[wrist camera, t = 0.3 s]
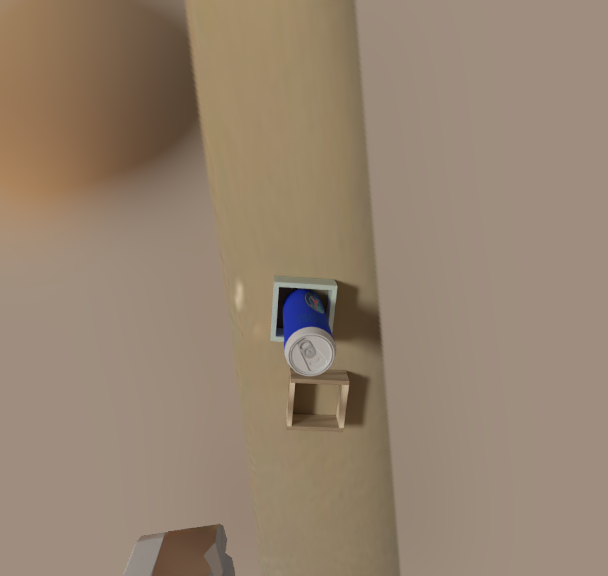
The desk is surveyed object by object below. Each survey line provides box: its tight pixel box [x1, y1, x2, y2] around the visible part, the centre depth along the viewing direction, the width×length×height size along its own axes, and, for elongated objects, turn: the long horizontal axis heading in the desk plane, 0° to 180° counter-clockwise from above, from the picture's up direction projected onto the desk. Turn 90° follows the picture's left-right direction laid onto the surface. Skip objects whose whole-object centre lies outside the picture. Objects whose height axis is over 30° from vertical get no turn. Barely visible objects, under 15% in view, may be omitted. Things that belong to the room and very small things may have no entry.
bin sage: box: [271, 276, 337, 342], centre depth 53 cm, size 8×8×3 cm
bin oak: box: [286, 368, 350, 432], centre depth 57 cm, size 8×8×3 cm
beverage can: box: [283, 289, 336, 376], centre depth 47 cm, size 5×5×15 cm
